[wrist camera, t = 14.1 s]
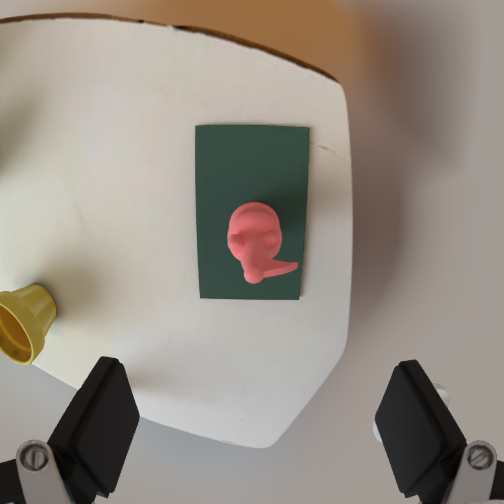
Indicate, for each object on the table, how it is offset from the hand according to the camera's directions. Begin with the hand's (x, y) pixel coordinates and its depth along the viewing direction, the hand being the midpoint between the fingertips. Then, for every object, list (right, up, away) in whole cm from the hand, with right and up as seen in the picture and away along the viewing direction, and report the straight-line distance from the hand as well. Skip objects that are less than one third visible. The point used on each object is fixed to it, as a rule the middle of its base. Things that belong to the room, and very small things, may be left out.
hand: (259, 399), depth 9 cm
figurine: (0, +9, +23) cm, 25 cm away
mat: (0, +9, +24) cm, 25 cm away
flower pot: (-33, -3, +28) cm, 43 cm away
